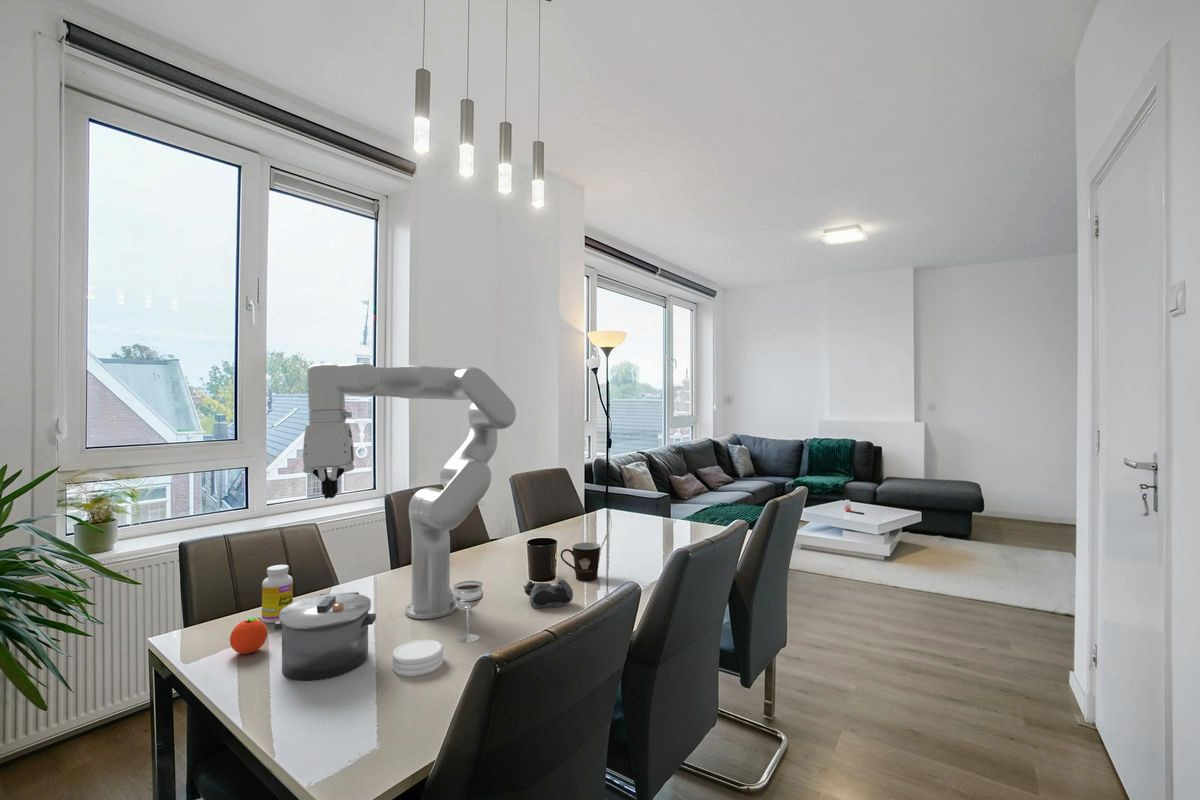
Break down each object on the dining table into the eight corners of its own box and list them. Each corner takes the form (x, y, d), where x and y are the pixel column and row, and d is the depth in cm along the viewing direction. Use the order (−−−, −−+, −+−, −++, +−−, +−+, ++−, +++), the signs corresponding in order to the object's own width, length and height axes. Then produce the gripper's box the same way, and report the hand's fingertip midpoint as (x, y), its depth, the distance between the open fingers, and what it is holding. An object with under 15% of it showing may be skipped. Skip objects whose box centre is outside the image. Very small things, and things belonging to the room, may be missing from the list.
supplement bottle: (278, 625, 136) (279, 571, 137) (255, 623, 138) (255, 570, 138) (298, 615, 143) (298, 564, 143) (276, 613, 144) (276, 562, 144)
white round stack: (425, 651, 122) (425, 634, 122) (453, 664, 116) (453, 647, 116) (382, 667, 115) (382, 650, 115) (409, 682, 108) (409, 664, 108)
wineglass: (450, 635, 130) (450, 582, 130) (480, 630, 133) (480, 579, 133) (455, 646, 124) (455, 591, 124) (486, 641, 127) (486, 587, 127)
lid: (299, 599, 124) (299, 588, 124) (379, 595, 127) (379, 585, 127) (264, 631, 107) (264, 618, 107) (358, 626, 110) (358, 613, 110)
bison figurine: (574, 608, 148) (566, 594, 158) (574, 581, 148) (566, 569, 158) (529, 613, 145) (523, 598, 155) (528, 586, 145) (523, 573, 154)
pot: (382, 643, 126) (382, 598, 126) (363, 677, 110) (363, 625, 110) (292, 648, 123) (293, 602, 123) (259, 684, 107) (260, 631, 107)
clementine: (246, 643, 126) (247, 611, 126) (277, 643, 126) (277, 611, 126) (221, 659, 118) (221, 625, 118) (254, 659, 118) (254, 625, 118)
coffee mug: (605, 577, 174) (605, 544, 174) (590, 584, 167) (590, 550, 167) (574, 571, 180) (574, 539, 181) (558, 578, 173) (558, 545, 173)
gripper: (365, 416, 135) (368, 492, 135) (297, 418, 132) (300, 496, 132) (358, 417, 127) (360, 498, 128) (286, 419, 125) (289, 502, 125)
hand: (330, 497), depth 130 cm, fingers closed
